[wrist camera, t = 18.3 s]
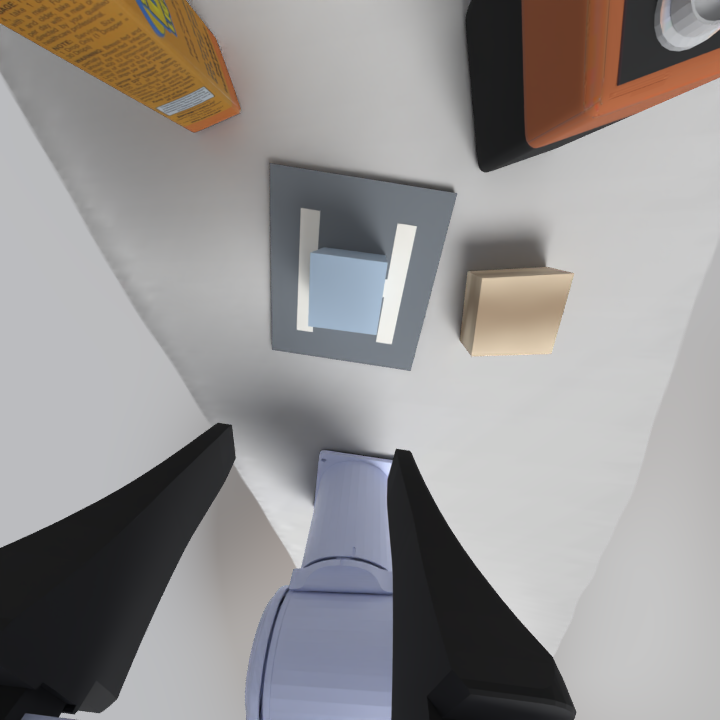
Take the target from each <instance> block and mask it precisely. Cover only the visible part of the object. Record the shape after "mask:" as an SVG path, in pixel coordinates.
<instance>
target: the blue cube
mask: <svg viewBox="0 0 720 720" xmlns="http://www.w3.org/2000/svg"><path fill="white" fill-rule="evenodd" d="M387 265H388V262H387V258H386V255H381V254H373V253H365V252H358V251H350V250H343V249H335V248H327V247H323V248H321V249H318V250H316V251H313V252H311V253H310V281H309V315H308V326H311V327H318V328H326V329H333V330H341V331H349V332H356V333H364V334H372V335H377V329H378V323H379V316H380V310H381V303H382V297H383V291H384V284H385V278H386V271H387Z"/></svg>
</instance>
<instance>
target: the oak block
mask: <svg viewBox="0 0 720 720" xmlns="http://www.w3.org/2000/svg"><path fill="white" fill-rule="evenodd" d="M573 276H574V273H571V272H566V271H562V270H558V269H554V268H549V267H533V268H516V269H498V270H480V271H468V272H467V280H466V289H465V298H464V307H463V316H462V325H461V333H460V341H461V343H462V344H463V346H464V347H465V348H466V350H467V351H468V352H469V354H470V355H471V356H501V355H533V354H551V353H552V350H553V346H554V343H555V339H556V336H557V332H558V329H559V325H560V322H561V318H562V315H563V311H564V308H565V304H566V301H567V297H568V294H569V290H570V287H571V283H572V280H573Z"/></svg>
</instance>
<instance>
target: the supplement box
mask: <svg viewBox="0 0 720 720" xmlns="http://www.w3.org/2000/svg"><path fill="white" fill-rule="evenodd" d="M0 23H1V24H2V25H4V26H6V27H8V28H10V29H11V30H13V31H15V32H17V33H18V34H20V35H22V36H24V37H25V38H27V39H29V40H31V41H33V42H34V43H36V44H38V45H39V46H41V47H43V48H45V49H47V50H48V51H50V52H52V53H54V54H55V55H57V56H59V57H61V58H62V59H64V60H66V61H68V62H69V63H71V64H73V65H75V66H77V67H78V68H80V69H82V70H84V71H85V72H87V73H89V74H91V75H92V76H94V77H96V78H98V79H100V80H101V81H103V82H105V83H106V84H108V85H110V86H112V87H114V88H115V89H117V90H119V91H121V92H122V93H124V94H126V95H128V96H130V97H131V98H133V99H135V100H137V101H138V102H140V103H142V104H144V105H145V106H147V107H149V108H151V109H153V110H154V111H156V112H158V113H160V114H161V115H163V116H165V117H167V118H169V119H170V120H172V121H174V122H176V123H177V124H179V125H181V126H183V127H185V128H186V129H188V130H190V131H192V132H197V131H200V130H202V129H205V128H207V127H209V126H212V125H214V124H216V123H219V122H221V121H224V120H226V119H228V118H231V117H233V116H235V115H238V114H240V113H241V108H240V105H239V102H238V99H237V96H236V93H235V90H234V88H233V85H232V82H231V79H230V76H229V74H228V71H227V68H226V65H225V62H224V60H223V57H222V54H221V51H220V49H219V46H218V43H217V40H216V38H215V37H214V35H213V34H212V33H211V32H210V30H209V29H208V28H207V27H206V25H205V24H204V23H203V21H202V20H201V19H200V18H199V16H198V15H197V14H196V13H195V11H194V10H193V9H192V8H191V6H190V5H189V4H188V2H187V1H186V0H0Z"/></svg>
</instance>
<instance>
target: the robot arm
mask: <svg viewBox="0 0 720 720" xmlns="http://www.w3.org/2000/svg"><path fill="white" fill-rule="evenodd" d="M235 458H236V456H235V448H234V439H233V431H232V425H229V424H222V423H217V424H215V425H214V426H213V427H211V428H210V429H209V430H207V431H206V432H204V433H203V434H201V435H200V436H199V437H197V438H196V439H195V440H193V441H192V442H190V443H189V444H188V445H186V446H185V447H184V448H182V449H181V450H179V451H178V452H176V453H175V454H174V455H172V456H171V457H169V458H168V459H167V460H165V461H163V462H162V463H160V464H159V465H157V466H156V467H154V468H153V469H151V470H150V471H148V472H147V473H145V474H144V475H142V476H141V477H139V478H137V479H136V480H134V481H132V482H131V483H129V484H127V485H126V486H124V487H122V488H121V489H119V490H117V491H115V492H114V493H112V494H110V495H108V496H107V497H105V498H103V499H101V500H99V501H97V502H96V503H93V504H91V505H90V506H88V507H86V508H84V509H82V510H80V511H78V512H76V513H74V514H72V515H70V516H68V517H66V518H64V519H62V520H60V521H58V522H56V523H54V524H52V525H50V526H48V527H46V528H43V529H41V530H39V531H37V532H35V533H33V534H31V535H28V536H27V537H24V538H22V539H20V540H17V541H15V542H13V543H11V544H8V545H6V546H4V547H1V548H0V720H75V719H67V718H59V716H60V714H61V713H68V714H75V713H76V712H77V711H78V710H79V711H86V712H94V713H100V712H102V711H104V710H105V709H106V708H108V707H109V706H110V705H111V704H112V703H113V702H115V700H117V698H118V696H119V693H120V691H121V688H122V686H123V683H124V681H125V679H126V676H127V674H128V672H129V669H130V667H131V665H132V662H133V659H134V658H135V655H136V653H137V650H138V648H139V646H140V643H141V641H142V639H143V637H144V634H145V632H146V630H147V628H148V626H149V623H150V621H151V619H152V617H153V614H154V612H155V610H156V608H157V605H158V603H159V601H160V599H161V597H162V595H163V593H164V591H165V588H166V587H167V584H168V582H169V580H170V578H171V576H172V574H173V572H174V570H175V568H176V566H177V564H178V562H179V560H180V558H181V556H182V554H183V552H184V550H185V548H186V546H187V544H188V542H189V541H190V539H191V537H192V535H193V534H194V532H195V530H196V528H197V527H198V525H199V524H200V522H201V520H202V519H203V517H204V516H205V514H206V512H207V511H208V509H209V507H210V506H211V504H212V502H213V501H214V499H215V497H216V496H217V494H218V492H219V491H220V489H221V487H222V486H223V484H224V482H225V480H226V478H227V476H228V474H229V472H230V470H231V467H232V465H233V463H234V461H235ZM323 458H324V459H323ZM245 706H246V720H574V718H575V715H576V710H575V707H574V705H573V702H572V700H571V698H570V695H569V693H568V690H567V688H566V685H565V683H564V681H563V678H562V676H561V674H560V672H559V670H558V668H557V666H556V664H555V661H554V659H553V657H552V656H551V655H550V654H549V652H548V651H547V650H546V649H545V648H544V647H543V646H542V645H541V644H540V643H539V642H538V640H537V639H536V638H535V637H534V636H533V635H532V634H531V633H530V632H529V631H528V629H527V628H526V627H525V626H524V625H523V624H522V623H521V622H520V620H519V619H518V618H517V617H516V616H515V615H514V613H513V612H512V611H511V610H510V609H509V607H508V606H507V605H506V604H505V603H504V601H503V600H502V599H501V598H500V597H499V595H498V594H497V593H496V591H495V590H494V589H493V588H492V586H491V585H490V584H489V582H488V581H487V580H486V579H485V577H484V576H483V575H482V573H481V572H480V571H479V570H478V568H477V567H476V566H475V564H474V563H473V561H472V560H471V559H470V557H469V556H468V554H467V553H466V551H465V550H464V549H463V547H462V546H461V544H460V543H459V541H458V540H457V538H456V537H455V535H454V534H453V532H452V530H451V529H450V527H449V526H448V524H447V522H446V521H445V519H444V517H443V515H442V514H441V512H440V510H439V509H438V507H437V505H436V503H435V501H434V499H433V498H432V496H431V494H430V492H429V490H428V488H427V486H426V484H425V482H424V480H423V478H422V476H421V474H420V471H419V469H418V467H417V465H416V462H415V460H414V458H413V455H412V453H411V452H410V451H407V450H401V449H396V451H395V454H394V458H393V460H388V459H381V458H375V457H368V456H361V455H354V454H348V453H341V452H334V451H327V450H322V451H321V452H320V454H319V462H318V473H317V483H316V493H315V503H314V513H313V517H312V522H311V526H310V531H309V535H308V540H307V544H306V548H305V553H304V557H303V562H302V566H301V568H300V569H293V573H292V577H291V581H290V585H285V586H282V587H280V588H279V589H278V591H277V592H276V593H275V595H274V596H273V597H272V598H271V600H270V601H269V602H268V604H267V606H266V608H265V610H264V612H263V614H262V617H261V619H260V622H259V625H258V628H257V631H256V634H255V638H254V642H253V646H252V651H251V654H250V659H249V665H248V671H247V678H246V688H245Z"/></svg>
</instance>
